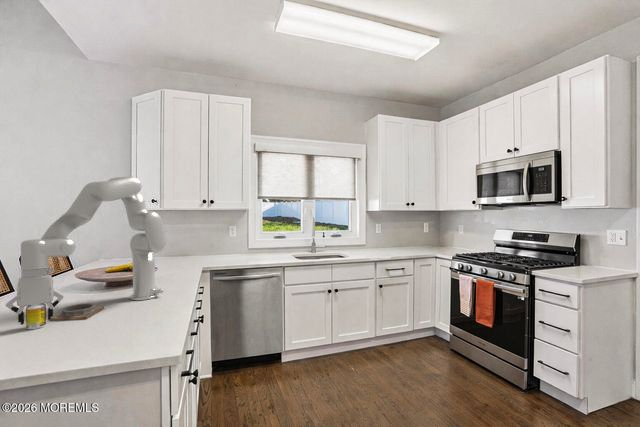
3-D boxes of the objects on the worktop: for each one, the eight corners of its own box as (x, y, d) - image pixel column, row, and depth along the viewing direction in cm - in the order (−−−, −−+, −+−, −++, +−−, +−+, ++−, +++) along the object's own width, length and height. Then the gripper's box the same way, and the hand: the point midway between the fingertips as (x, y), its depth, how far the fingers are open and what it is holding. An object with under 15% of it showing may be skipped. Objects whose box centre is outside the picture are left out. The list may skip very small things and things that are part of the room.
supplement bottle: (43, 328, 117) (42, 300, 117) (23, 331, 115) (22, 302, 115) (48, 323, 122) (47, 296, 122) (29, 326, 120) (28, 298, 120)
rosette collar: (104, 309, 140) (104, 302, 140) (86, 319, 127) (86, 311, 127) (71, 310, 138) (71, 303, 138) (50, 320, 125) (50, 313, 125)
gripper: (65, 268, 127) (66, 313, 127) (3, 274, 116) (4, 324, 116) (65, 271, 121) (66, 318, 121) (0, 278, 110) (1, 330, 110)
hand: (36, 321), depth 119 cm, fingers open, 6 cm apart
